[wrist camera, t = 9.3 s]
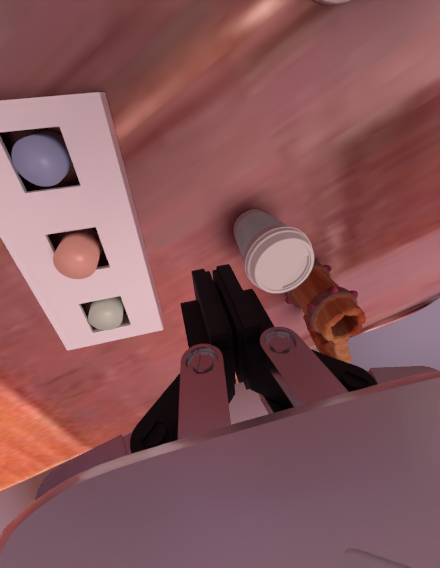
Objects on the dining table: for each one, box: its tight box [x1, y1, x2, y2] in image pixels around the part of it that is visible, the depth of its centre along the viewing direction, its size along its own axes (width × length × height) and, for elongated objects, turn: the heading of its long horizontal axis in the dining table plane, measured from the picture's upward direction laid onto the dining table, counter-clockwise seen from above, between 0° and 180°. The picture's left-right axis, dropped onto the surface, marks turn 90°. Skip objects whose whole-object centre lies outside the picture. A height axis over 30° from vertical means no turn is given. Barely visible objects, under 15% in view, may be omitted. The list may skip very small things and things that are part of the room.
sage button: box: [88, 296, 124, 330], centre depth 40 cm, size 4×4×5 cm
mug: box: [285, 262, 366, 363], centre depth 44 cm, size 15×8×15 cm, turn 10°
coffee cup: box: [233, 209, 314, 293], centre depth 37 cm, size 8×8×12 cm
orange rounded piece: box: [53, 228, 102, 279], centre depth 32 cm, size 4×4×5 cm
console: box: [0, 92, 163, 351], centre depth 34 cm, size 30×14×5 cm, turn 5°
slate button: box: [12, 131, 73, 187], centre depth 28 cm, size 4×4×5 cm
